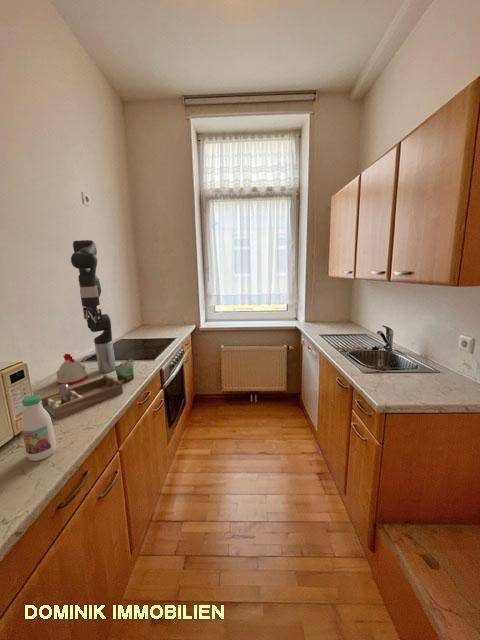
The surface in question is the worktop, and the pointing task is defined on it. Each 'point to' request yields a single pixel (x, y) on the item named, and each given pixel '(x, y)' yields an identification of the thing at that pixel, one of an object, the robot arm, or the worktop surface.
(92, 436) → the worktop surface
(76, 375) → the kitchen timer
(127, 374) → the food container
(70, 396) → the grey beige boxy piece
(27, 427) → the milk bottle
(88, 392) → the bay
